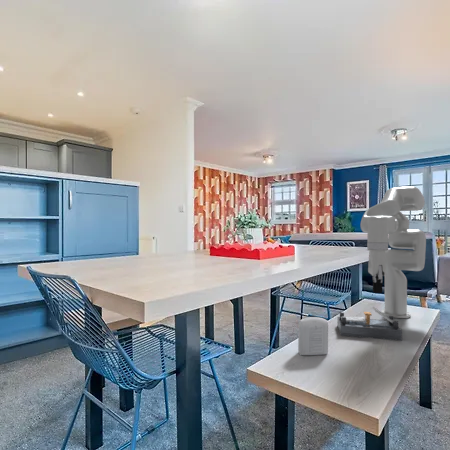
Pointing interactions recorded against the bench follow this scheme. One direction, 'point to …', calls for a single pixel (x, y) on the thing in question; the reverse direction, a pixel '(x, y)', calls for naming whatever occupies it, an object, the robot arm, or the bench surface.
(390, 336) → the tray
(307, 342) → the photo printer
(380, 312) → the strap
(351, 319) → the strap
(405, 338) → the bench surface
